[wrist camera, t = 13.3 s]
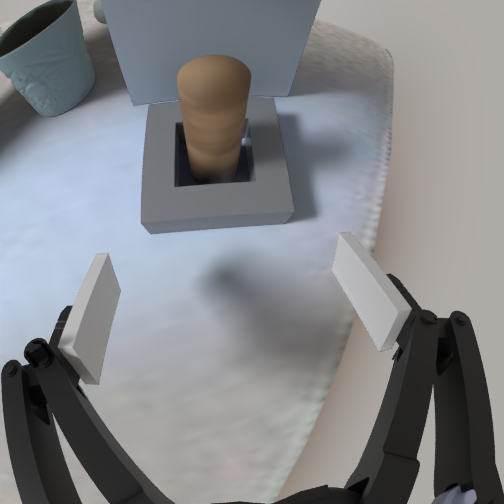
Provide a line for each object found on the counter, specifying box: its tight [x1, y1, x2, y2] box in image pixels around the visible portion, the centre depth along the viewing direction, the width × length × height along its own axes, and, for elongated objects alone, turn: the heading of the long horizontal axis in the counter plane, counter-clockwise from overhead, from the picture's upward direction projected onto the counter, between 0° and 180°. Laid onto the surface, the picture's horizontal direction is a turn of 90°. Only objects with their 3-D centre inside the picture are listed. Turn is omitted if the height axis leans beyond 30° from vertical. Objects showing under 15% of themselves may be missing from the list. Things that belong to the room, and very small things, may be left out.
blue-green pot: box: [0, 0, 96, 117], centre depth 18 cm, size 10×10×12 cm
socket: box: [141, 97, 294, 234], centre depth 22 cm, size 11×11×3 cm
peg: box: [177, 55, 251, 185], centre depth 18 cm, size 4×4×11 cm
